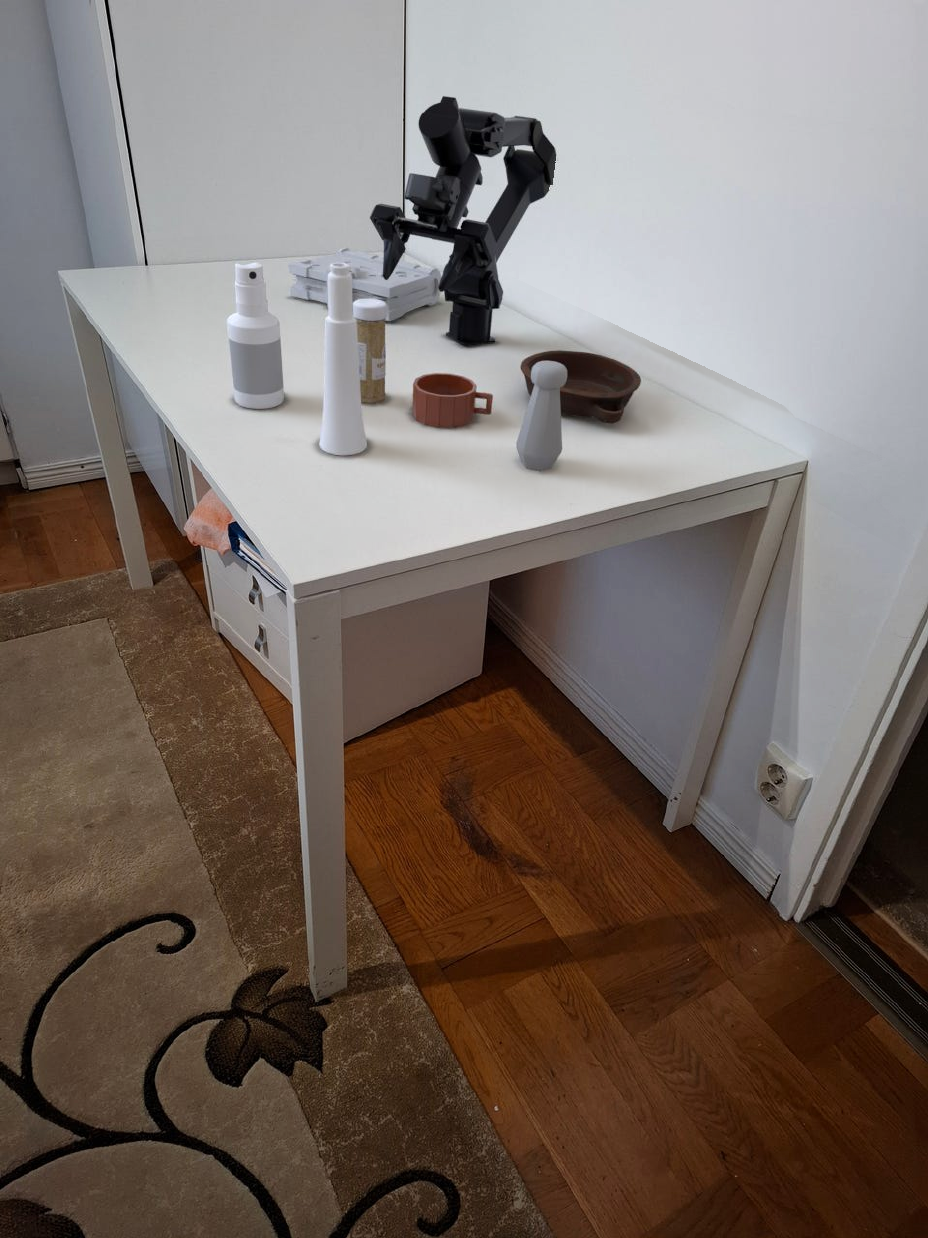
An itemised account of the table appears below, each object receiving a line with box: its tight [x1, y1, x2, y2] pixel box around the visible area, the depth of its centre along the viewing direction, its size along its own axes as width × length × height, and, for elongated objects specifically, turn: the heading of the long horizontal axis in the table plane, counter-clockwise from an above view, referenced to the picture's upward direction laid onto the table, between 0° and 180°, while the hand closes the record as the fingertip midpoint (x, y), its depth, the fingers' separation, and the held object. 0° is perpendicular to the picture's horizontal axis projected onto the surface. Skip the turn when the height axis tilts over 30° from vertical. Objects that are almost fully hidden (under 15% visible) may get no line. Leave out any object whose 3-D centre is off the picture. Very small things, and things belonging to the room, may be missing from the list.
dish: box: [519, 349, 642, 424], centre depth 122 cm, size 17×22×5 cm
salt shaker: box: [515, 361, 567, 472], centre depth 102 cm, size 6×6×13 cm
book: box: [288, 246, 442, 322], centre depth 155 cm, size 19×28×8 cm
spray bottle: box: [226, 261, 285, 410], centre depth 110 cm, size 7×7×18 cm
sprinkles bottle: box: [353, 299, 387, 404], centre depth 115 cm, size 5×5×14 cm
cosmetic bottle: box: [318, 263, 368, 456], centre depth 99 cm, size 6×6×22 cm
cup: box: [411, 372, 494, 429], centre depth 114 cm, size 11×9×4 cm
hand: (412, 284), depth 119 cm, fingers open, 9 cm apart
